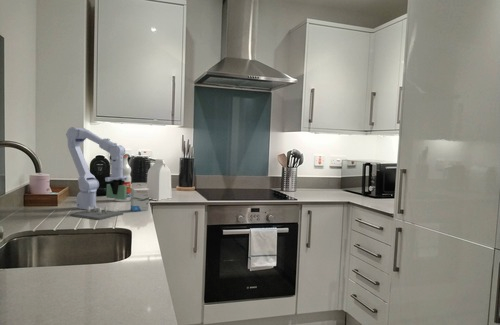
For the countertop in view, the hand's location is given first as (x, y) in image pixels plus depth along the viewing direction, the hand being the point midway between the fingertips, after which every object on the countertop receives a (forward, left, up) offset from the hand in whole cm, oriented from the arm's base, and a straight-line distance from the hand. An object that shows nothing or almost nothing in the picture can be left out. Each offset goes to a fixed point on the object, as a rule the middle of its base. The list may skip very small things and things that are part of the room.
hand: (116, 194), depth 194 cm
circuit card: (0, 0, -2) cm, 2 cm away
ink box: (+9, +8, -9) cm, 15 cm away
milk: (-7, +47, -9) cm, 48 cm away
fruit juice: (-20, +28, -9) cm, 36 cm away
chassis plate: (+1, -14, -9) cm, 17 cm away
